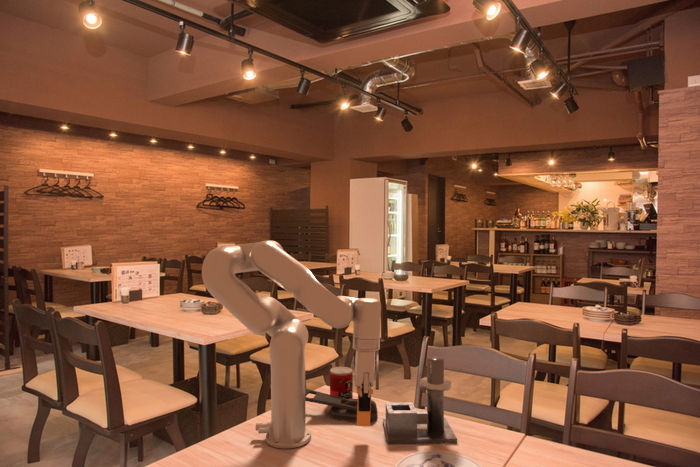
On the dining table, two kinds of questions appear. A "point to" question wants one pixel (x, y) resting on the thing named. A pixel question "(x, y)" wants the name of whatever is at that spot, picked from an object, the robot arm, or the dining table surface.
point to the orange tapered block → (363, 416)
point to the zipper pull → (340, 406)
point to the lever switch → (422, 412)
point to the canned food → (341, 382)
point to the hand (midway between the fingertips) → (363, 408)
